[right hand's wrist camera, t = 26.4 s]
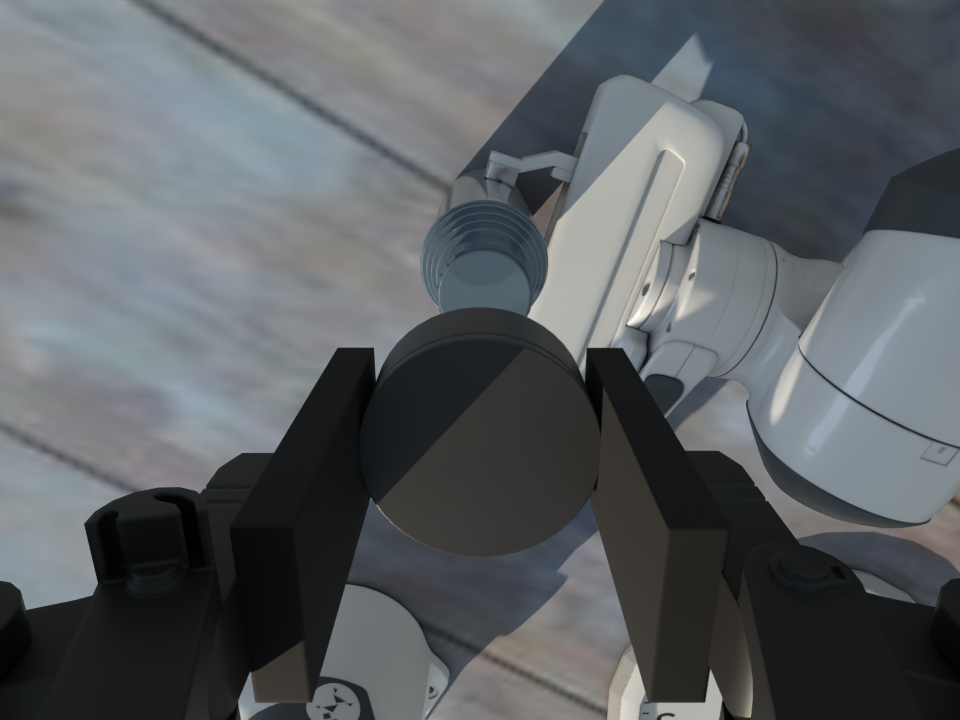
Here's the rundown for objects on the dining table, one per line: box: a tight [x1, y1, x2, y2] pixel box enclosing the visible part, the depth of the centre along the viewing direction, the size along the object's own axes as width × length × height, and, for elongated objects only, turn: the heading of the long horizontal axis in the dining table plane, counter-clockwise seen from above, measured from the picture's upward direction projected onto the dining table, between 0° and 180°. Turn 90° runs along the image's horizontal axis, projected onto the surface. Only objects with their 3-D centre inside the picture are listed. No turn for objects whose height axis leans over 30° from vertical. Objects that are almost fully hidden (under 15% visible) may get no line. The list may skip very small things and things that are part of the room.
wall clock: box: [607, 569, 917, 720], centre depth 59 cm, size 30×2×30 cm
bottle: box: [420, 169, 548, 317], centre depth 35 cm, size 6×6×23 cm
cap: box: [359, 307, 601, 557], centre depth 14 cm, size 4×4×2 cm
